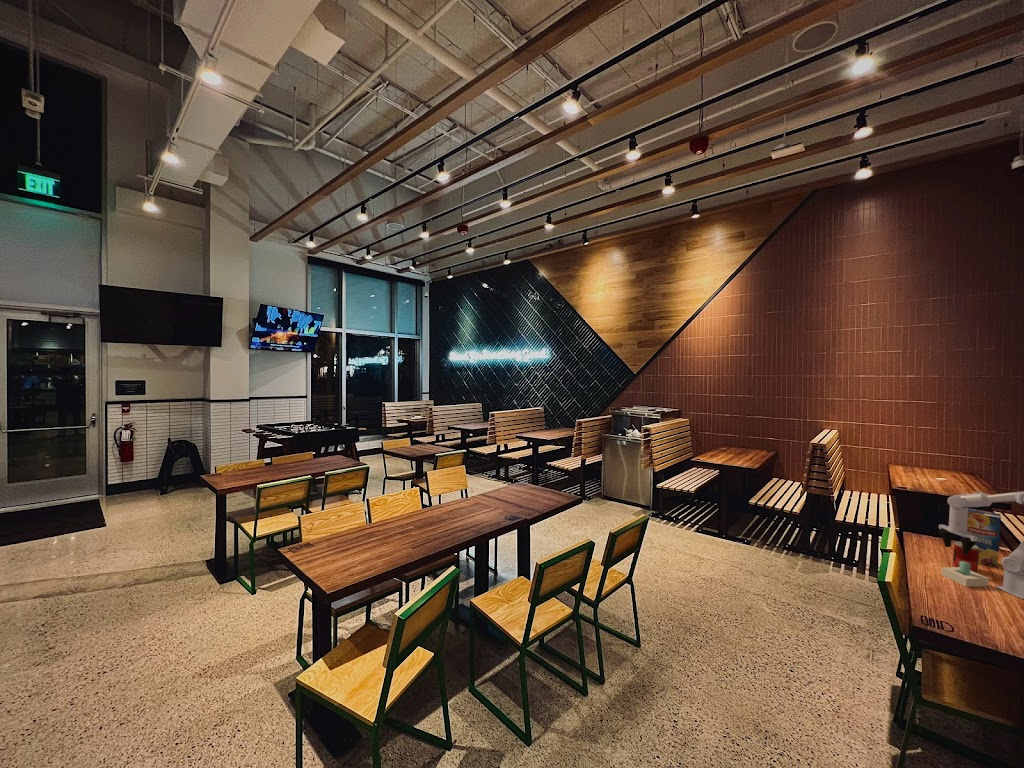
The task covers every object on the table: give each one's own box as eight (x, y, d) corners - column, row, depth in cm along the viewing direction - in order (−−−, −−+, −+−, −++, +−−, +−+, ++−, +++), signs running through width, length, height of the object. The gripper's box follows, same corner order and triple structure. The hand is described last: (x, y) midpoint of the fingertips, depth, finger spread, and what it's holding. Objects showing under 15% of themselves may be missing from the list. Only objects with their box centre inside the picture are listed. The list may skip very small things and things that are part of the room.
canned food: (982, 572, 192) (984, 549, 192) (960, 570, 194) (962, 547, 194) (969, 565, 200) (970, 542, 199) (948, 562, 202) (949, 540, 201)
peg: (971, 582, 184) (972, 564, 184) (964, 582, 184) (965, 564, 184) (963, 578, 187) (964, 561, 187) (956, 578, 187) (957, 561, 187)
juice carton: (960, 559, 206) (963, 511, 204) (960, 554, 211) (963, 507, 209) (997, 568, 197) (1000, 517, 196) (997, 563, 202) (1000, 514, 201)
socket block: (988, 586, 181) (988, 578, 181) (965, 586, 181) (966, 578, 180) (962, 574, 191) (962, 567, 191) (941, 575, 191) (941, 567, 190)
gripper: (984, 527, 186) (983, 557, 186) (949, 515, 200) (947, 543, 201) (969, 527, 185) (967, 557, 186) (935, 515, 200) (933, 543, 201)
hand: (956, 550), depth 193 cm, fingers open, 7 cm apart
